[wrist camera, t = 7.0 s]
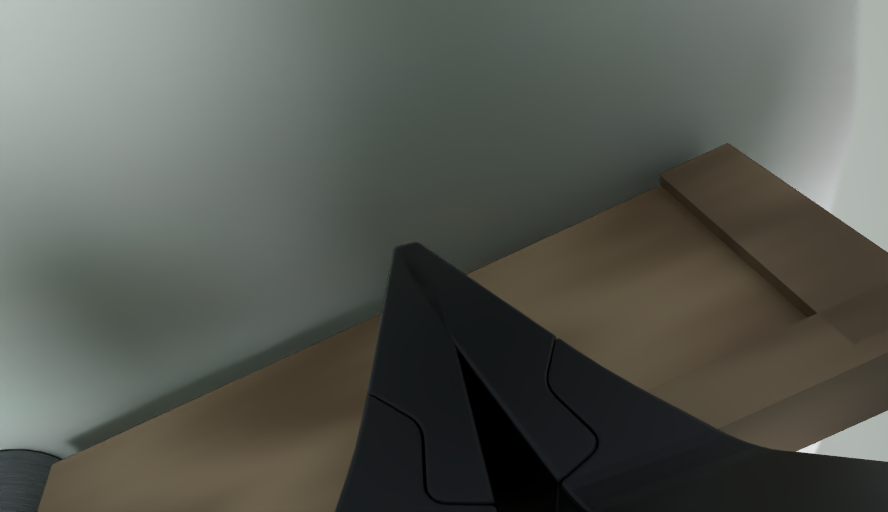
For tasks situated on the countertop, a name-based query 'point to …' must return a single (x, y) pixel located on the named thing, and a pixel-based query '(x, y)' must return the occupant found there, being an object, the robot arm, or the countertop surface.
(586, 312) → the brown long plank slab
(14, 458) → the hinge post
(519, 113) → the countertop surface
